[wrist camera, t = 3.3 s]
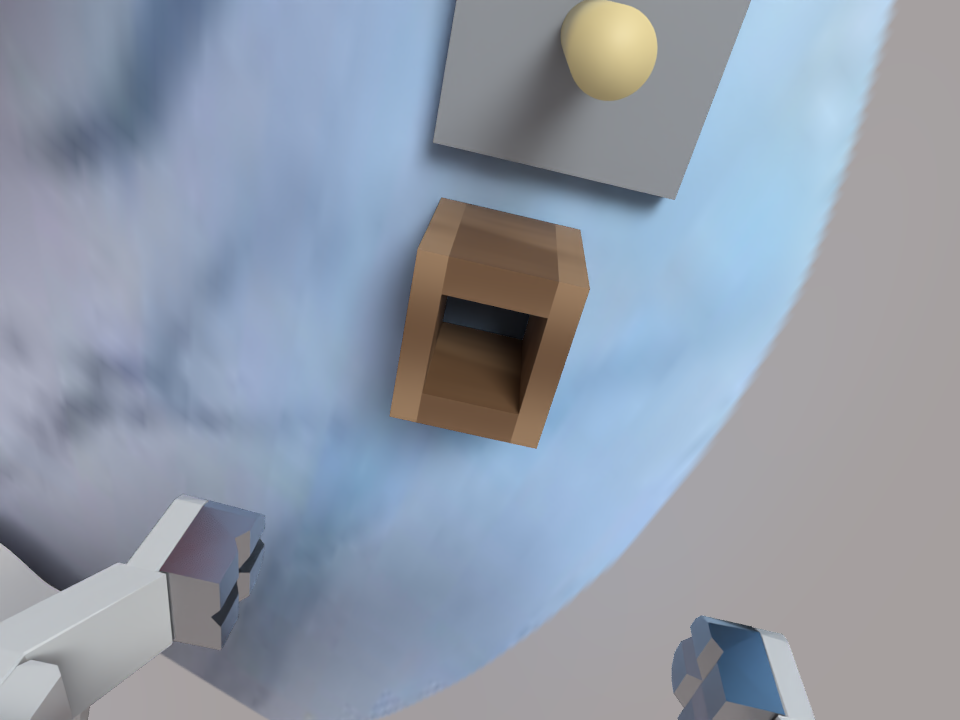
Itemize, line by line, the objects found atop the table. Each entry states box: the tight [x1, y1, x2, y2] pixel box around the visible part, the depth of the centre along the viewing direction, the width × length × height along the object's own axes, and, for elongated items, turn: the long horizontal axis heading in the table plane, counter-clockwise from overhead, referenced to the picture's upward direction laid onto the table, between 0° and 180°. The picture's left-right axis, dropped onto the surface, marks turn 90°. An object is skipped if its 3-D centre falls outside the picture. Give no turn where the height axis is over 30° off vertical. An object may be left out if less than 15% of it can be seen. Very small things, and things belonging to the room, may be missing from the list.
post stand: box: [433, 0, 751, 200], centre depth 16 cm, size 8×8×7 cm
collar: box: [390, 198, 590, 449], centre depth 21 cm, size 6×5×5 cm
